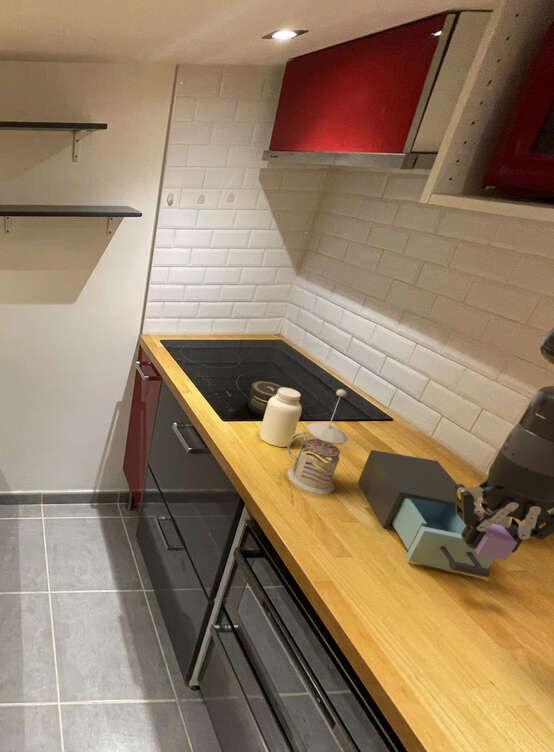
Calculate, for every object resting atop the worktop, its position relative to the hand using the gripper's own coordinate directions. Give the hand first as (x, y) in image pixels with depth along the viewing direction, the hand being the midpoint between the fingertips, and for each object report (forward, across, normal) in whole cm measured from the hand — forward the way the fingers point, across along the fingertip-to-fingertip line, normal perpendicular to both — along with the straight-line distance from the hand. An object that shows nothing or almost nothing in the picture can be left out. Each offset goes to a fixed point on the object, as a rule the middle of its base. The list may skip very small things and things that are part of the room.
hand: (485, 546), depth 70 cm
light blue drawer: (+15, +4, +15) cm, 22 cm away
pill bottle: (+17, -17, +48) cm, 54 cm away
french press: (+17, -14, +32) cm, 39 cm away
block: (0, 0, 0) cm, 0 cm away
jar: (+17, -17, +64) cm, 69 cm away
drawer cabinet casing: (+17, +4, +27) cm, 32 cm away
